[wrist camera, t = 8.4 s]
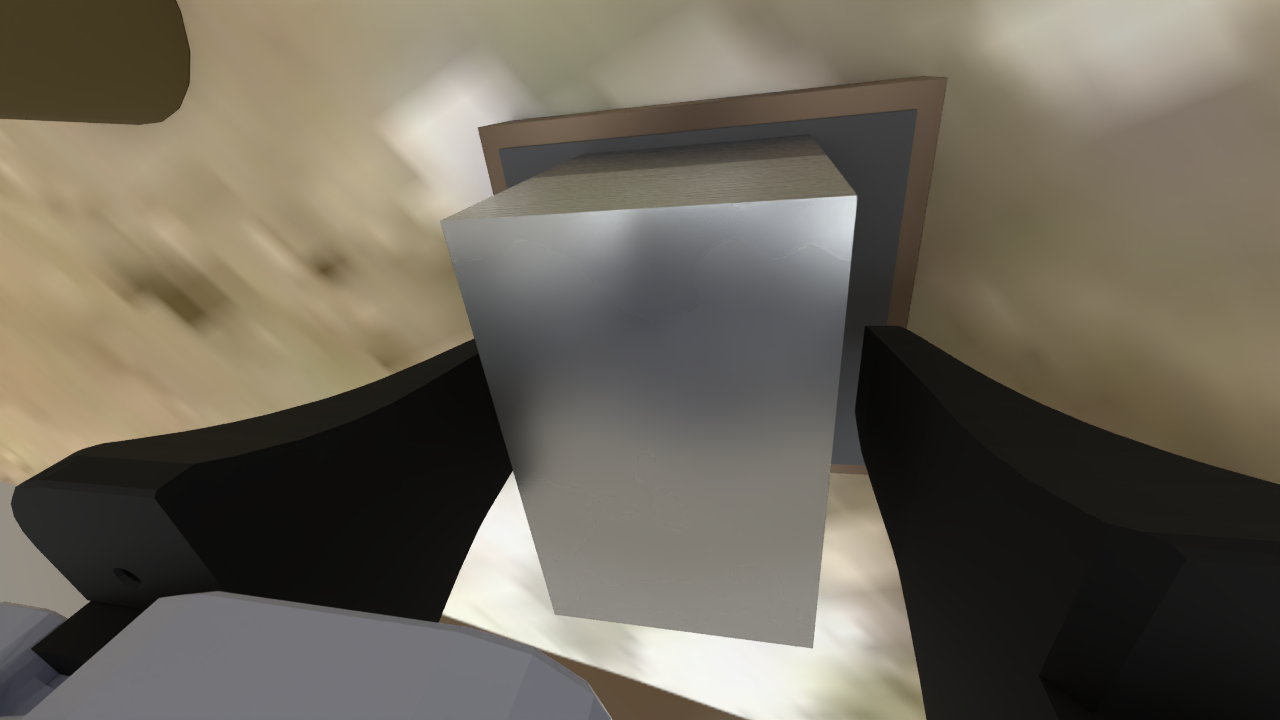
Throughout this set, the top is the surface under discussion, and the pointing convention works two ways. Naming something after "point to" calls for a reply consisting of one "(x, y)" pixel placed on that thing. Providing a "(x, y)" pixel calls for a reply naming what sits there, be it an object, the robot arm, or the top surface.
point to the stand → (834, 116)
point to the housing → (669, 375)
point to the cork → (92, 60)
